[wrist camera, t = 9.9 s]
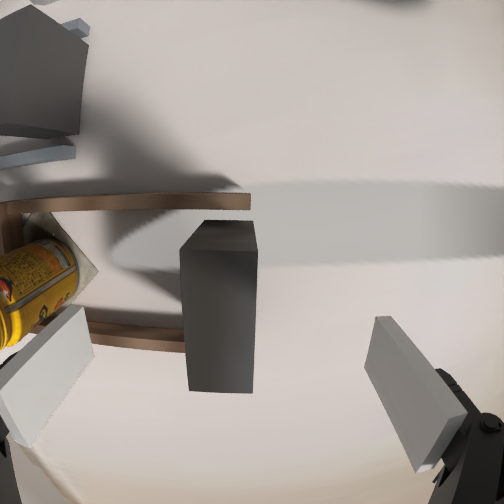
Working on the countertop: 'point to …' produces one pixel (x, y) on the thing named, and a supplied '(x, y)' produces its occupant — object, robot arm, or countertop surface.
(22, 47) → the grey frame
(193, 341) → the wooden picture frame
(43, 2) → the french press
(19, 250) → the condiment
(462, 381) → the countertop surface
